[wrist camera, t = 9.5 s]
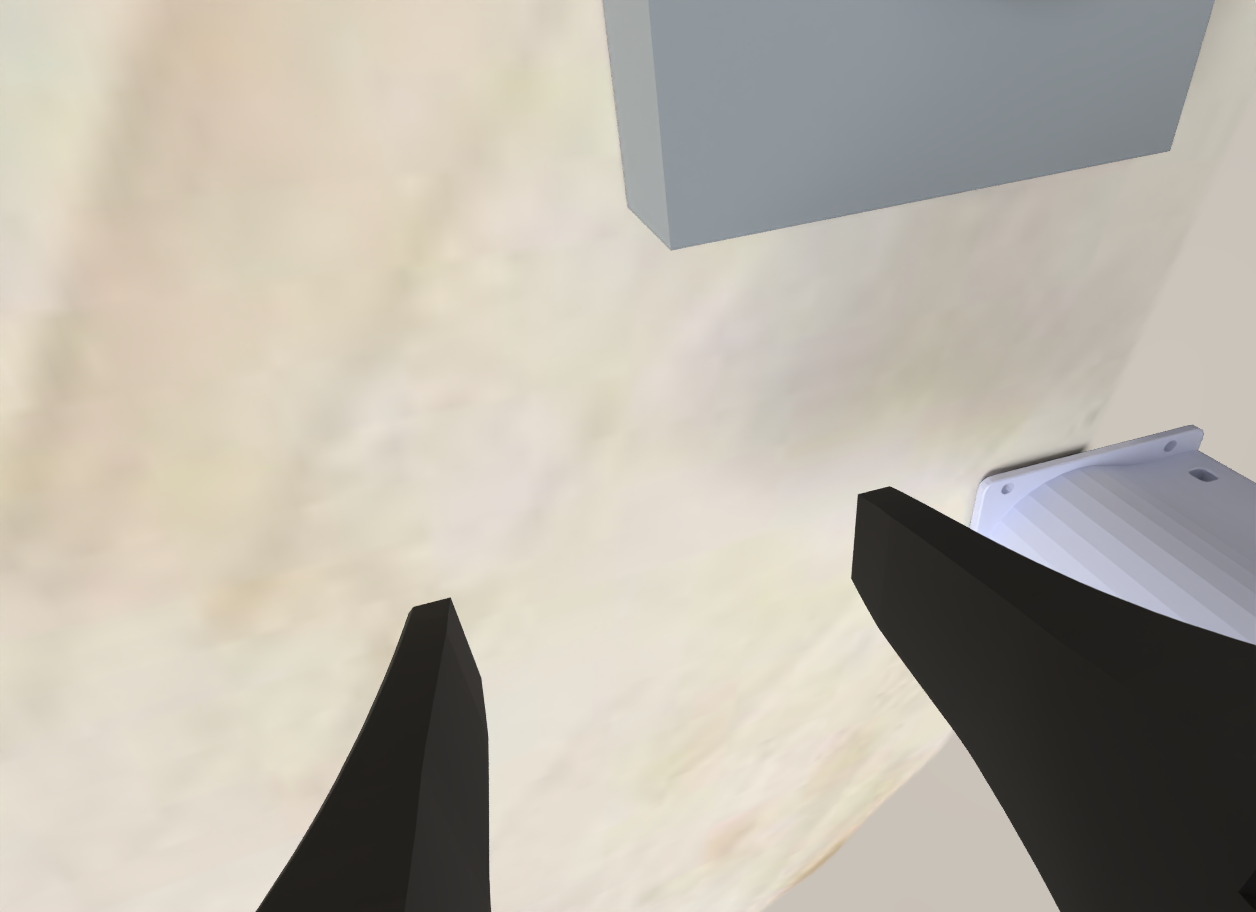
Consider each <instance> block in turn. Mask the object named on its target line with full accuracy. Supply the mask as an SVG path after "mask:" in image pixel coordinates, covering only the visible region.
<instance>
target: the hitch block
mask: <svg viewBox="0 0 1256 912" xmlns="http://www.w3.org/2000/svg"><path fill="white" fill-rule="evenodd" d="M1214 1H1215V0H603V8H604V16H605V24H606V33H607V41H608V49H609V58H610V66H611V74H612V82H613V91H614V99H615V107H616V115H617V124H618V132H619V140H620V148H621V157H622V165H623V173H624V181H625V190H626V198H627V206H628V208H629V209H630V210H631V211H632V212H633V213H634V214H635V215H636V216H637V217H638V218H639V219H640V220H641V221H642V222H643V223H644V224H645V225H646V226H647V227H648V228H649V229H650V230H651V231H652V232H653V233H654V234H655V235H656V236H657V237H658V238H659V239H660V240H661V241H662V242H663V243H664V244H665V245H666V246H667V247H668V248H669V249H670V250H676V249H681V248H686V247H691V246H696V245H701V244H706V243H711V242H716V241H721V240H726V239H731V238H736V237H741V236H746V235H751V234H756V233H761V232H766V231H771V230H776V229H781V228H786V227H791V226H796V225H801V224H806V223H811V222H816V221H821V220H826V219H831V218H836V217H841V216H846V215H851V214H856V213H861V212H866V211H871V210H876V209H881V208H886V207H891V206H896V205H901V204H906V203H911V202H916V201H921V200H926V199H931V198H936V197H941V196H946V195H951V194H956V193H961V192H966V191H971V190H976V189H981V188H986V187H991V186H996V185H1001V184H1006V183H1011V182H1016V181H1021V180H1026V179H1031V178H1036V177H1041V176H1046V175H1051V174H1056V173H1061V172H1066V171H1071V170H1076V169H1081V168H1086V167H1091V166H1096V165H1101V164H1107V163H1112V162H1117V161H1122V160H1127V159H1132V158H1137V157H1142V156H1147V155H1152V154H1157V153H1162V152H1167V151H1170V149H1171V146H1172V142H1173V139H1174V136H1175V132H1176V129H1177V126H1178V122H1179V119H1180V115H1181V112H1182V109H1183V105H1184V102H1185V99H1186V95H1187V92H1188V89H1189V85H1190V82H1191V78H1192V75H1193V72H1194V68H1195V65H1196V62H1197V58H1198V55H1199V52H1200V48H1201V45H1202V41H1203V38H1204V35H1205V31H1206V28H1207V25H1208V21H1209V18H1210V14H1211V11H1212V8H1213V4H1214Z"/></svg>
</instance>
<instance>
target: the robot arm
mask: <svg viewBox="0 0 1256 912" xmlns="http://www.w3.org/2000/svg"><path fill="white" fill-rule="evenodd" d="M1203 435H1204V433H1203V430H1201V429H1200V428H1198V427H1196V426H1194V425H1188V426H1184V427H1180V428H1177V429H1173V430H1169V431H1165V432H1161V433H1157V434H1153V435H1149V436H1145V437H1141V438H1138V439H1133V440H1130V441H1126V442H1122V443H1118V444H1114V445H1110V446H1106V447H1102V448H1098V449H1094V450H1090V451H1086V452H1083V453H1079V454H1075V455H1071V456H1067V457H1063V458H1059V459H1055V460H1051V461H1047V462H1044V463H1040V464H1036V465H1032V466H1028V467H1024V468H1020V469H1016V470H1012V471H1008V472H1004V473H1001V474H997V475H993V476H990V477H987V478H986V479H984V480H983V481H982V482H981V483H980V485H979V487H978V490H977V495H976V500H975V505H974V510H973V515H972V520H971V525H970V528H968V527H966V526H964V525H963V524H961V523H959V522H957V521H955V520H953V519H951V518H950V517H948V516H946V515H944V514H942V513H940V512H938V511H937V510H935V509H933V508H931V507H929V506H927V505H925V504H923V503H922V502H920V501H918V500H916V499H914V498H912V497H910V496H908V495H906V494H904V493H903V492H901V491H899V490H897V489H894V488H892V487H890V486H889V487H885V488H881V489H877V490H873V491H869V492H865V493H861V494H858V501H857V513H856V526H855V538H854V550H853V563H852V575H851V579H852V581H853V583H854V585H855V587H856V588H857V590H858V592H859V594H860V596H861V598H862V600H863V602H864V603H865V605H866V607H867V609H868V610H869V612H870V614H871V616H872V617H873V619H874V621H875V623H876V624H877V626H878V628H879V629H880V631H881V632H882V633H883V635H884V636H885V638H886V639H887V640H888V642H889V643H890V645H891V646H892V647H893V649H894V650H895V651H896V653H897V654H898V656H899V657H900V658H901V660H902V661H903V662H904V664H905V665H906V667H907V668H908V669H909V671H910V672H911V673H912V675H913V676H914V677H915V679H916V680H917V681H918V683H919V684H920V685H921V687H922V688H923V689H924V691H925V692H926V693H927V695H928V696H929V698H930V699H931V700H932V702H933V703H934V704H935V706H936V707H937V708H938V710H939V711H940V712H941V714H942V715H943V716H944V718H945V719H946V720H947V722H948V723H949V724H950V726H951V727H952V729H953V730H954V731H955V733H956V734H957V736H958V737H959V738H960V740H961V741H962V743H963V744H964V746H965V747H966V748H967V750H968V751H969V753H970V754H971V756H972V758H973V759H974V761H975V762H976V764H977V766H978V767H979V769H980V771H981V772H982V774H983V776H984V778H985V779H986V781H987V783H988V784H989V786H990V787H991V789H992V791H993V792H994V794H995V796H996V797H997V799H998V801H999V802H1000V804H1001V806H1002V807H1003V809H1004V811H1005V813H1006V814H1007V816H1008V818H1009V819H1010V821H1011V823H1012V825H1013V827H1014V828H1015V830H1016V832H1017V834H1018V835H1019V837H1020V839H1021V840H1022V842H1023V844H1024V846H1025V848H1026V849H1027V851H1028V853H1029V855H1030V856H1031V858H1032V860H1033V862H1034V864H1035V865H1036V867H1037V869H1038V871H1039V872H1040V874H1041V876H1042V878H1043V880H1044V882H1045V883H1046V886H1047V887H1048V889H1049V891H1050V893H1051V895H1052V897H1053V899H1054V901H1055V903H1056V904H1057V906H1058V908H1059V910H1060V912H1256V483H1255V482H1253V481H1251V480H1249V479H1248V478H1246V477H1244V476H1242V475H1241V474H1239V473H1237V472H1235V471H1234V470H1232V469H1230V468H1228V467H1227V466H1225V465H1223V464H1221V463H1220V462H1218V461H1216V460H1214V459H1213V458H1211V457H1209V456H1207V455H1205V454H1204V453H1202V452H1200V451H1198V448H1199V446H1200V443H1201V441H1202V439H1203ZM256 912H491V904H490V881H489V757H488V730H487V721H486V712H485V704H484V696H483V689H482V681H481V676H480V674H479V671H478V668H477V666H476V663H475V660H474V658H473V655H472V653H471V650H470V647H469V645H468V642H467V639H466V637H465V634H464V631H463V629H462V626H461V624H460V621H459V618H458V616H457V613H456V610H455V608H454V605H453V603H452V600H451V598H447V599H443V600H439V601H435V602H431V603H427V604H423V605H419V606H415V607H413V608H412V610H411V611H410V612H409V614H408V617H407V620H406V622H405V625H404V628H403V631H402V634H401V636H400V639H399V642H398V645H397V647H396V650H395V652H394V655H393V657H392V660H391V662H390V665H389V667H388V670H387V672H386V675H385V677H384V680H383V682H382V684H381V687H380V689H379V691H378V693H377V696H376V698H375V700H374V702H373V705H372V707H371V709H370V711H369V714H368V716H367V718H366V720H365V723H364V725H363V727H362V729H361V731H360V733H359V735H358V737H357V739H356V741H355V743H354V745H353V747H352V749H351V751H350V753H349V755H348V757H347V759H346V761H345V763H344V765H343V767H342V769H341V771H340V773H339V775H338V777H337V779H336V781H335V783H334V785H333V786H332V788H331V790H330V792H329V794H328V795H327V797H326V799H325V801H324V803H323V805H322V806H321V808H320V810H319V812H318V813H317V815H316V817H315V819H314V820H313V822H312V824H311V825H310V827H309V829H308V830H307V832H306V834H305V835H304V837H303V839H302V840H301V842H300V844H299V845H298V847H297V849H296V850H295V852H294V854H293V855H292V857H291V858H290V860H289V862H288V863H287V865H286V866H285V868H284V869H283V871H282V872H281V874H280V875H279V877H278V878H277V880H276V881H275V883H274V885H273V886H272V888H271V889H270V891H269V892H268V894H267V895H266V897H265V898H264V900H263V901H262V903H261V904H260V906H259V908H258V909H257V910H256Z"/></svg>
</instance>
